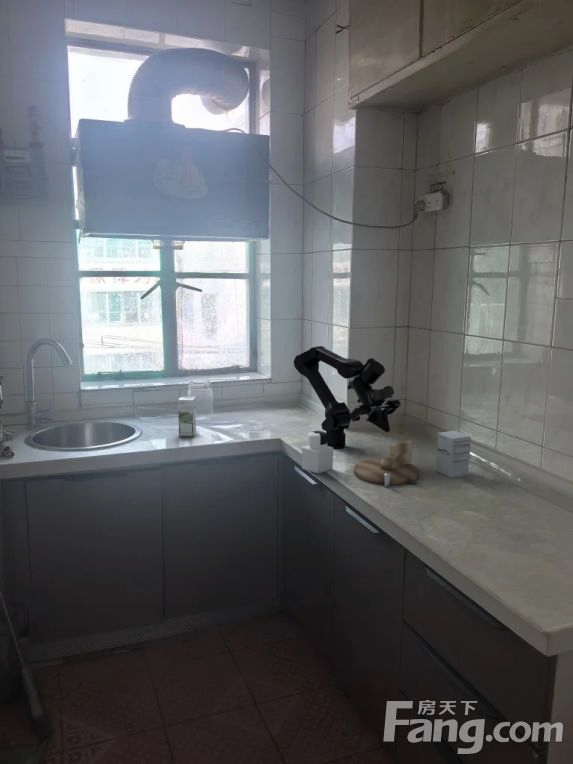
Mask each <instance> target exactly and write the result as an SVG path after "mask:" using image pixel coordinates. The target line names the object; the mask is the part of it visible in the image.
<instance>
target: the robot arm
mask: <svg viewBox="0 0 573 764" xmlns="http://www.w3.org/2000/svg"><path fill="white" fill-rule="evenodd" d="M320 362H322V363H325V364H326V365H328V366H330V367H332V368H333V369H334V370H336V373H337V374H339V375H340V377H342V378H343V379H345V380H346V379H352V380H350V381H348V385H347V390H353V391H354V392H355V394H356V396H357V397H358V399H357V403H358V404H360V403H361V405H357V406H356V407H355V408H353V410H352V411H351V410H350V409H349V407H348V405H347V404H346V402H344V401H343V402H339V401H338V400H337V399H336V397H335V395H334V393H332V391H331V389H330V388H329V386H328V385H327V382H326V381H325V378H324V377H323V376H322V374H321V373H320V371H319V370H320V364H319V363H320ZM293 366H294V368H295V369H296V371H297V373H299V374H300V375H302V376H303V377H305V378H307V380H308V382H309V384H310V385H311V387H312V389H313V391H314V393H316V395H317V397H318V399H319V400H320V402H321V403H322V406H323V407H324V417H325V419H324V420H323V421H322V423H321V425H320V426H321V429H322V430H323V431H326V432H325V433H327V446H329V447H332V448H333V449H344V448H345V446H346V443H347V441H346V439H347V438H346V437H347V436H346V434H347V433H346V432H345V430H349V427H350V424H351V422H352V423H354V422H360V420H361V416H365V415H367V416H366V419H365V421H366V422H369V423H371V424H372V425H374V426H376V427H378V428H379V429H381V430H382V431H383V432H385V433H389V432H391V428H390V422H389V419H388V417H389V416H391V415H393V414H394V413H395V412H396V411H397V410H398V409H399V408H400V407H401V406H402V403H401V402H400V400H399V399H396V398H394V399H393V396H394V394H395V390H394V387H392V386H391V385H387V386H384V387H383V388H379V389H375V388H373V386H372V385H374V384H376V383H377V381H378V380H379V379H380V378H381V377H382V376H383V375H384V374H385V372H386V368H385V367H384V365H383V364H381V363H380V362H379V361H377V360H375V358H374V357H373V358H371V357H370V358H368V359H367V361H366V362H365V364H363V363H362V362H361V361H360V360H358V359H354V358H345V357H343V356H341V355H339V354H337V353H335V352H333V351H331V350H329V349H327V348H326V347H325V346H323V345H317V346H312V347H310V348H309V349H308V350H305V351H304V352H302V353H300V354H296V356H295V357H294V359H293ZM389 398H390V399H389ZM391 398H392V399H391ZM387 399H388V400H387Z"/></svg>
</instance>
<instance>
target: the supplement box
mask: <svg viewBox="0 0 573 764" xmlns="http://www.w3.org/2000/svg"><path fill="white" fill-rule="evenodd" d="M471 441H472V436H470V435H468V434H465V433H462V432H460V431H457V430H450V431H444V432H443V431H442V432H437V444H436V459H435V471H436V472H438V473H440V474H442V475H444V476H447V477H448V478H450V479H451V478H458V477H464V476H469V470H470V469H469V468H470V467H469V466H470V454H471V443H472V442H471Z"/></svg>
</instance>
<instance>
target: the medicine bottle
mask: <svg viewBox="0 0 573 764" xmlns="http://www.w3.org/2000/svg"><path fill="white" fill-rule="evenodd" d="M307 436H308V438H307V440H308V441H307V443H308V444H307V445H306V446H302V448H301V469H303V470H305V471H308V472H311V473H315V474H318V475H319V474H322V473H325V472H328V471H329V470H333V466H334V448H332V447H329V446H327V433H326V432H324V431H321V430H314V431H310V432H308V435H307Z"/></svg>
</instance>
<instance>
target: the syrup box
mask: <svg viewBox="0 0 573 764" xmlns="http://www.w3.org/2000/svg"><path fill="white" fill-rule="evenodd" d="M196 403H197V401H196V396H180V397H179V398H177V407H178V409H177V410H178V413H177V414H178V416H177V417H178V436H179V437H182V438H183V437H184V438H185V437H186V438H192V437H195V435H196V434H197V423H196V422H197V420H196V419H197V418H196V417H197V416H196V415H197V414H196V412H197V411H196V410H197V409H196V407H197V406H196Z"/></svg>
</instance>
